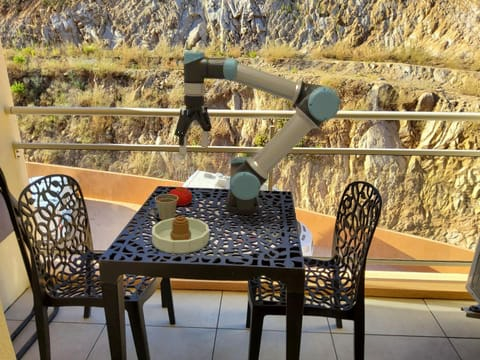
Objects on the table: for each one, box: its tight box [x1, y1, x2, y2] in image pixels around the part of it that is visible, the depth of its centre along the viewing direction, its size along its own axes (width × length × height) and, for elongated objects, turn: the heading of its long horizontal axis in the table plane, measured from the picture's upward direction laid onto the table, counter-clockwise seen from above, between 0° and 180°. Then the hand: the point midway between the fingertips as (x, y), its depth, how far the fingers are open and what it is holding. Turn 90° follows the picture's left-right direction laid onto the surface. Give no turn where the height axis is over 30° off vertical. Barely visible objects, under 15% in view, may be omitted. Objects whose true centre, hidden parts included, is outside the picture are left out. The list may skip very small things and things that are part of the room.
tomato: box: [168, 186, 193, 207], centre depth 174 cm, size 10×11×6 cm
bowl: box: [151, 217, 210, 255], centre depth 139 cm, size 20×20×4 cm
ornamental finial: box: [170, 215, 191, 240], centre depth 138 cm, size 8×8×8 cm
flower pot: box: [154, 193, 178, 221], centre depth 157 cm, size 9×9×9 cm
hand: (194, 150), depth 150 cm, fingers open, 13 cm apart
